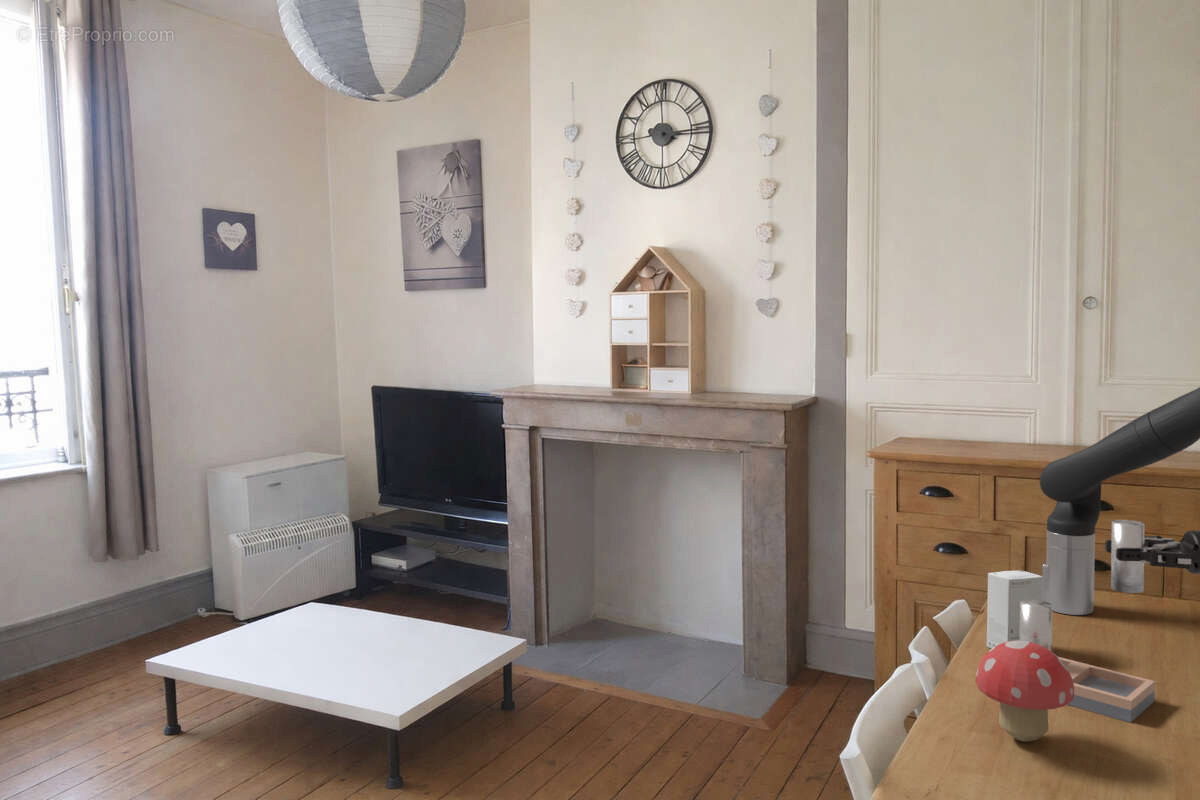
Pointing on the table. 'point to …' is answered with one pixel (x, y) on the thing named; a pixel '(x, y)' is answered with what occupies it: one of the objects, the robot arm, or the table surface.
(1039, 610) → the seated billet
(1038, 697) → the decorative mushroom
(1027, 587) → the skincare box
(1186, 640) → the table surface
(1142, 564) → the cylinder
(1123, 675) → the pink rectangular tray
